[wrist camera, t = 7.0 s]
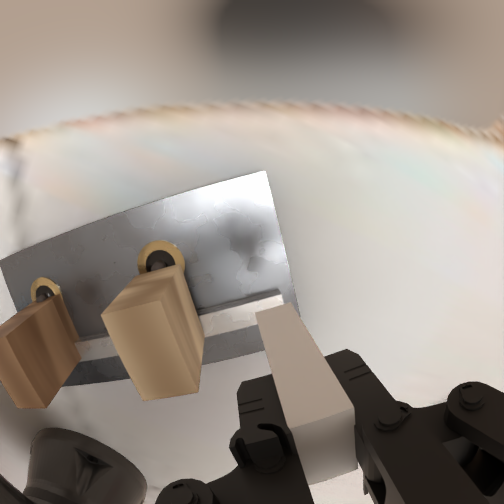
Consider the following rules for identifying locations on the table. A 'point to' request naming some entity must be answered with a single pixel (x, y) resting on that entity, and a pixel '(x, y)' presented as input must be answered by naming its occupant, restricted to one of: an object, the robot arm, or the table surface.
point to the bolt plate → (171, 253)
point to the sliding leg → (158, 333)
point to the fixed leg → (37, 352)
